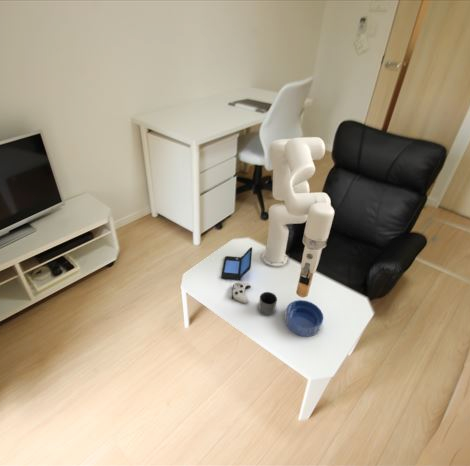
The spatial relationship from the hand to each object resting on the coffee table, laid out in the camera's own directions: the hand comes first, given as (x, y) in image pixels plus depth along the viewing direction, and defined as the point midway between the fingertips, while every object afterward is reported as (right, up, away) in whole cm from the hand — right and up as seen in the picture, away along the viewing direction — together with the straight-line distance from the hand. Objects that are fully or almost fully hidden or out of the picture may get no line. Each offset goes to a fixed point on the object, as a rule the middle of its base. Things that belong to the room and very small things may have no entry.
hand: (305, 278), depth 114 cm
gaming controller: (-21, -11, +26) cm, 35 cm away
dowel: (0, -6, +5) cm, 8 cm away
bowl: (+3, -20, +13) cm, 24 cm away
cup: (-10, -16, +19) cm, 27 cm away
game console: (-21, -1, +39) cm, 44 cm away
